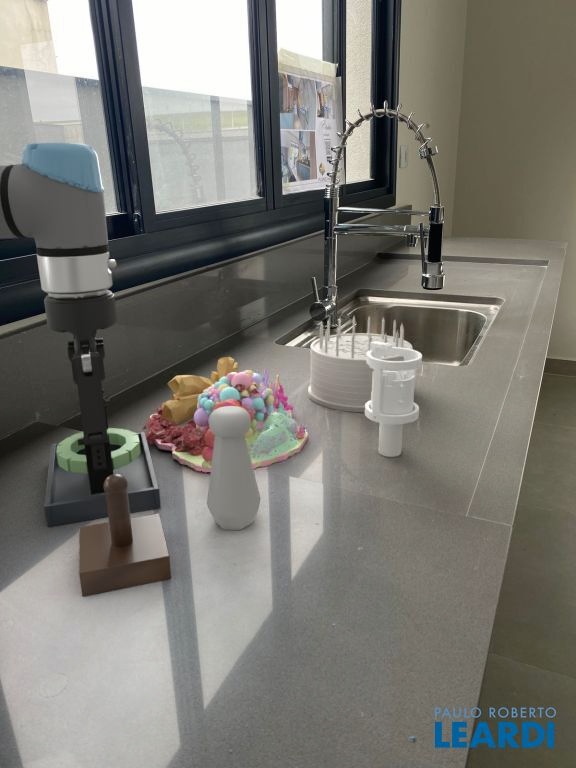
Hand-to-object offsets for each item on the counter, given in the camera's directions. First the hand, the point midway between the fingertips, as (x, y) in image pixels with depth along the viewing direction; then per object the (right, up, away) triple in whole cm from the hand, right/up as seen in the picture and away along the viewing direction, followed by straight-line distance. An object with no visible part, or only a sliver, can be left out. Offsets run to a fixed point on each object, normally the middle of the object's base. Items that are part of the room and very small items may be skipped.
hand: (101, 472), depth 75 cm
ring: (0, +2, -1) cm, 2 cm away
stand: (+7, -7, -15) cm, 18 cm away
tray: (0, -1, 0) cm, 1 cm away
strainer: (+37, +1, +8) cm, 38 cm away
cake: (+36, +9, +30) cm, 47 cm away
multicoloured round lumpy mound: (+15, +4, +15) cm, 21 cm away
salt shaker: (+17, -4, -8) cm, 20 cm away
